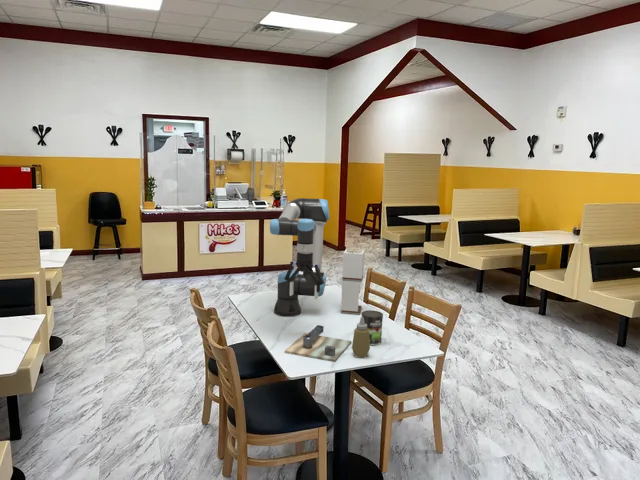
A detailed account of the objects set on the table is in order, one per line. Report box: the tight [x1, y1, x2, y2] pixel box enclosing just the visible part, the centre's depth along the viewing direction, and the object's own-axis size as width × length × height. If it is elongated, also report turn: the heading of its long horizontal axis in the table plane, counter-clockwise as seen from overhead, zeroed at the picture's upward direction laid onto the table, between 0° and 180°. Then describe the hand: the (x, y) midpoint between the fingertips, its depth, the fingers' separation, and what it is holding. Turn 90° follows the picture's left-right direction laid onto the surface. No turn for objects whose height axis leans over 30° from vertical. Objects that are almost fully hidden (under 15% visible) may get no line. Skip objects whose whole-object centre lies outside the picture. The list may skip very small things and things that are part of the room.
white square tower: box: [340, 248, 365, 316], centre depth 281 cm, size 11×11×35 cm
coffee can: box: [360, 310, 384, 346], centre depth 238 cm, size 10×10×14 cm
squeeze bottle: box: [351, 315, 371, 358], centre depth 221 cm, size 8×8×18 cm
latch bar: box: [303, 324, 325, 348], centre depth 233 cm, size 18×4×5 cm, turn 159°
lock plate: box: [284, 332, 352, 363], centre depth 229 cm, size 24×24×7 cm
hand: (303, 296), depth 235 cm, fingers open, 12 cm apart
